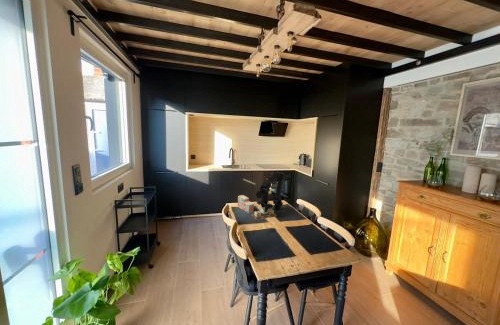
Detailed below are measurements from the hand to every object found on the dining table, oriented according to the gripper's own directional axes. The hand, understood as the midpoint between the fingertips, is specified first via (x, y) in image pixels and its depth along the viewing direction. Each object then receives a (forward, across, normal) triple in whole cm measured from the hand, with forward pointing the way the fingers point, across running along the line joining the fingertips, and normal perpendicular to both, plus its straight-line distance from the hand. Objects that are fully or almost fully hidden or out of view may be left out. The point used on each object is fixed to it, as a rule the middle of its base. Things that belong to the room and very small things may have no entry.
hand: (264, 211), depth 189 cm
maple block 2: (+4, 0, +7) cm, 8 cm away
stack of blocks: (+5, -21, -10) cm, 24 cm away
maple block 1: (+4, 0, -7) cm, 8 cm away
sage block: (+1, 0, 0) cm, 1 cm away
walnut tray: (+5, 0, 0) cm, 5 cm away
